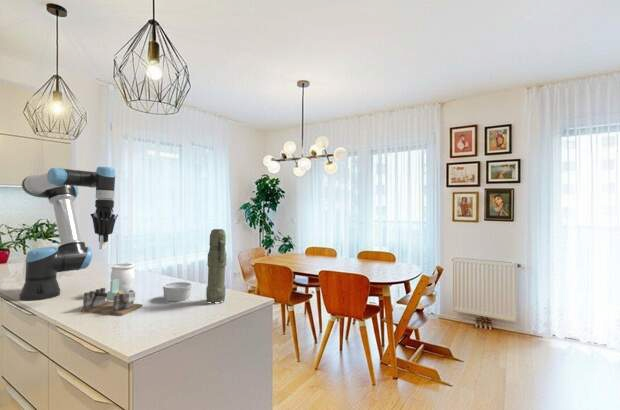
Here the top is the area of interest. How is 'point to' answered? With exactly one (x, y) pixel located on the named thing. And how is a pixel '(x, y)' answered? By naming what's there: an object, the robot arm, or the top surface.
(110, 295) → the mint green stepped block
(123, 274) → the jar
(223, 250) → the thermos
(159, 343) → the top surface
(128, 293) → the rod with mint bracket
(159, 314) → the top surface
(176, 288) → the ramekin
